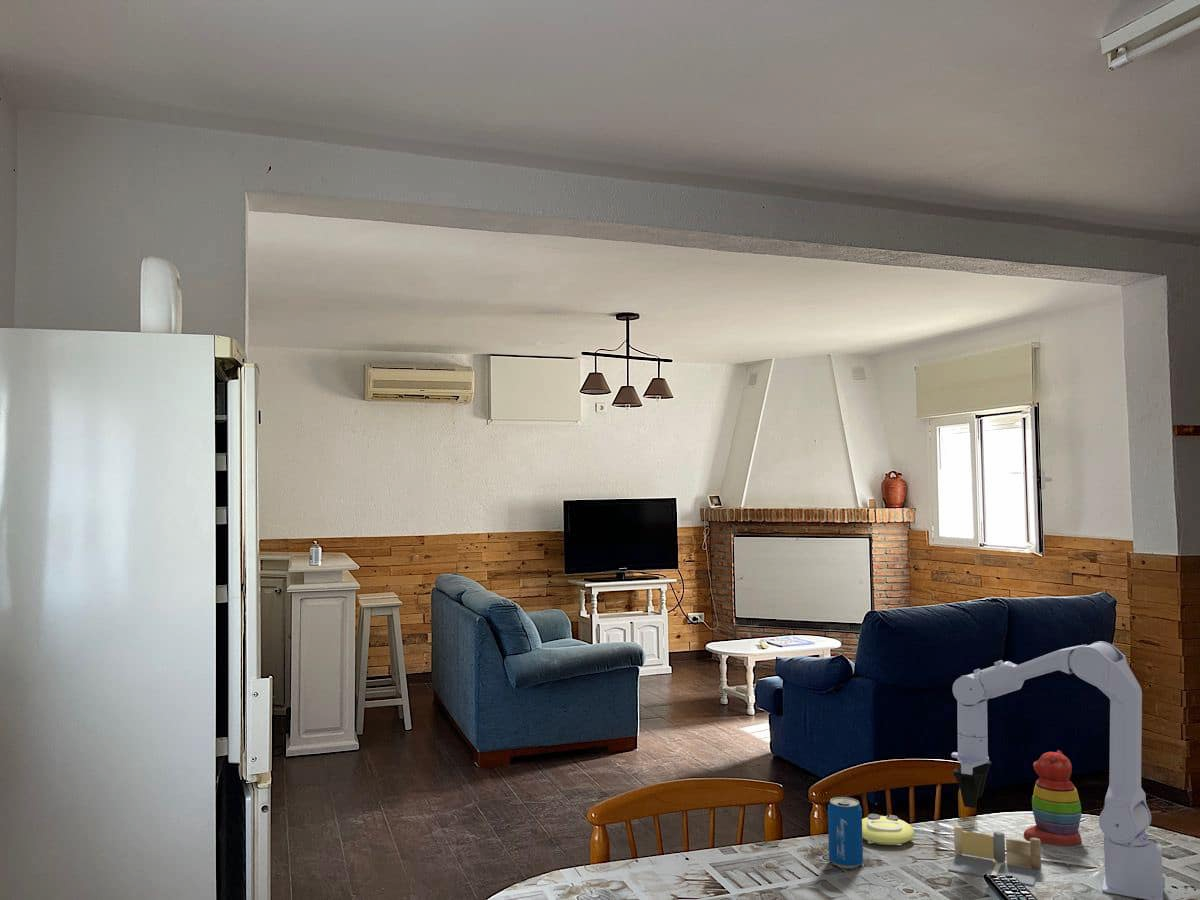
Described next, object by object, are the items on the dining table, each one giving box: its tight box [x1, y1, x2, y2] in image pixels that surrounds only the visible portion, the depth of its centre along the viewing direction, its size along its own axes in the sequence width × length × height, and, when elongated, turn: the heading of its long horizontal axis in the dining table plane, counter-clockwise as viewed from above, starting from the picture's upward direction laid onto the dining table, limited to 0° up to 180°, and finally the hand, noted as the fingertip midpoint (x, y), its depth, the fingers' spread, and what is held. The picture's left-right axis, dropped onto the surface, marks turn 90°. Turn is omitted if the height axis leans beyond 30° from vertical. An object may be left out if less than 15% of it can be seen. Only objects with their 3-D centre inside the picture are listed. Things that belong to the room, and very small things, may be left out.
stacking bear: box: [1023, 749, 1082, 846], centre depth 201 cm, size 11×10×18 cm
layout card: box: [947, 854, 1040, 887], centre depth 184 cm, size 15×13×1 cm
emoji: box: [862, 813, 915, 846], centre depth 201 cm, size 4×12×12 cm
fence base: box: [1005, 837, 1042, 871], centre depth 184 cm, size 6×2×5 cm, turn 59°
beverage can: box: [827, 796, 864, 869], centre depth 187 cm, size 6×6×12 cm
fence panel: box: [953, 825, 1006, 862], centre depth 188 cm, size 9×2×5 cm, turn 59°
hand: (973, 801), depth 194 cm, fingers open, 7 cm apart
